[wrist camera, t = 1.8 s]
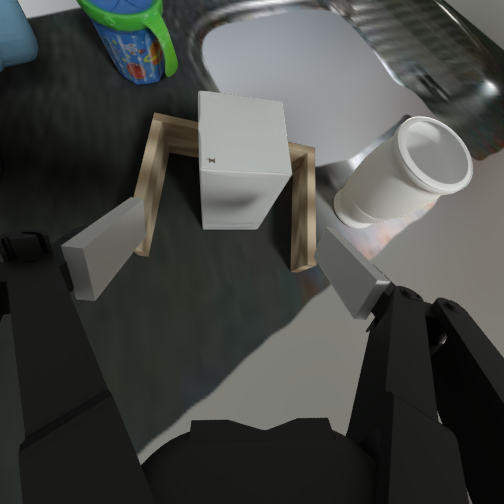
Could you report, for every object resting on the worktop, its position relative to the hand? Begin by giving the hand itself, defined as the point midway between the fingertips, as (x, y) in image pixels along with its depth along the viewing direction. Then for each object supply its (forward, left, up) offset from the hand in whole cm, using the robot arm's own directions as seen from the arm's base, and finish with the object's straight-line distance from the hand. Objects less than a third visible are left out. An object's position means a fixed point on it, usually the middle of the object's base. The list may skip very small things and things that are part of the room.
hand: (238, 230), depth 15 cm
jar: (+13, +23, -17) cm, 31 cm away
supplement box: (-5, +9, -17) cm, 20 cm away
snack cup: (-32, +20, -17) cm, 42 cm away
